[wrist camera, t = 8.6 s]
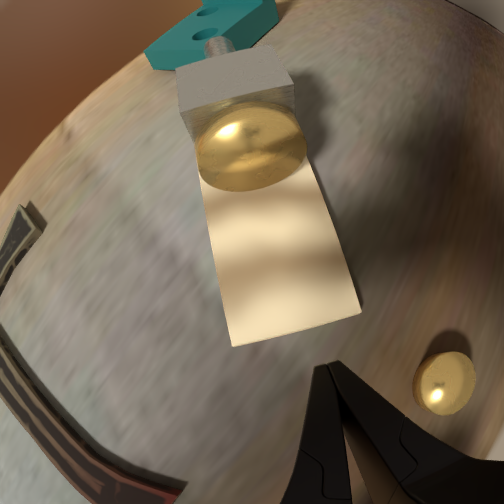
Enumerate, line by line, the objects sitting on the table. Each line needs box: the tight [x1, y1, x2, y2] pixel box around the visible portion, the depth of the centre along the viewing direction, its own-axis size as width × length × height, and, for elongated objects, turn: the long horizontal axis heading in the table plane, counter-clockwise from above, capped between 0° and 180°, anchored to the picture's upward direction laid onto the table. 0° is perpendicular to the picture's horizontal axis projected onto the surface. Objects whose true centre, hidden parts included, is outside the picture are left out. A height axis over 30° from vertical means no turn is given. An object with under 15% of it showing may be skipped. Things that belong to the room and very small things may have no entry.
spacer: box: [412, 352, 475, 415], centre depth 19 cm, size 5×5×2 cm
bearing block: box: [175, 44, 295, 145], centre depth 24 cm, size 6×8×9 cm
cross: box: [0, 204, 182, 504], centre depth 24 cm, size 35×2×45 cm
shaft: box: [195, 36, 307, 192], centre depth 24 cm, size 17×8×8 cm, turn 13°
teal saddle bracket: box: [144, 0, 279, 70], centre depth 32 cm, size 18×11×10 cm, turn 151°
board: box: [194, 145, 361, 347], centre depth 26 cm, size 22×10×1 cm, turn 13°
